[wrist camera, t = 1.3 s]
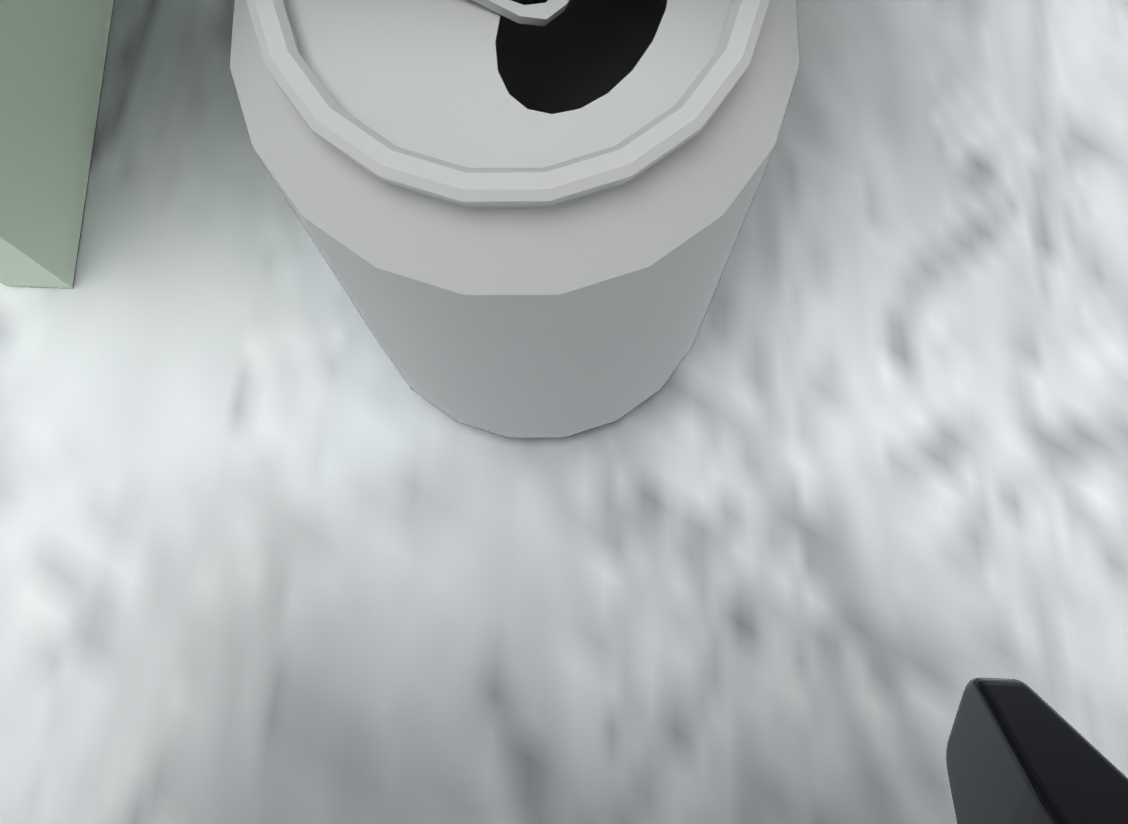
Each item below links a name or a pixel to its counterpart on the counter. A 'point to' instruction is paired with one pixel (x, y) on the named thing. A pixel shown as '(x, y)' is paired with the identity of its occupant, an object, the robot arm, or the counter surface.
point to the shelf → (47, 132)
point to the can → (521, 181)
